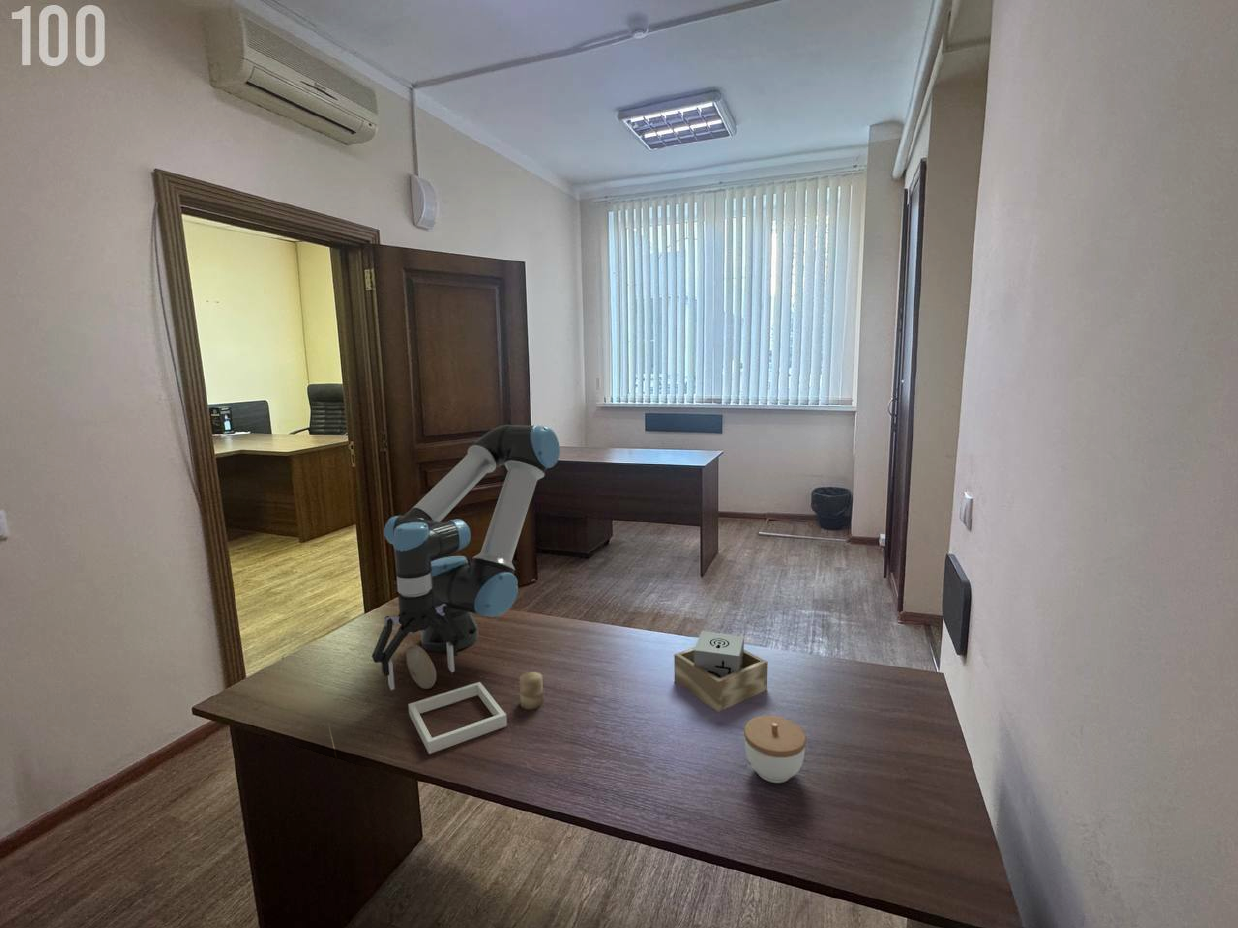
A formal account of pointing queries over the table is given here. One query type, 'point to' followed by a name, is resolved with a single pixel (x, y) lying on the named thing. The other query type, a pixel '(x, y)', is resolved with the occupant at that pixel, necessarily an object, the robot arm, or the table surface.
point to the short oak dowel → (531, 690)
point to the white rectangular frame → (461, 733)
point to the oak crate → (721, 680)
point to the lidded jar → (774, 747)
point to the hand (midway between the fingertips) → (422, 678)
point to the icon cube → (719, 653)
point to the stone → (420, 666)
